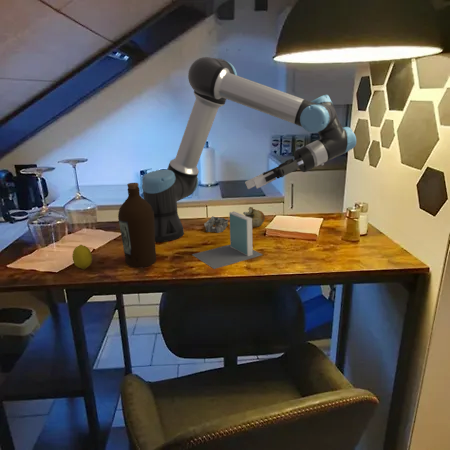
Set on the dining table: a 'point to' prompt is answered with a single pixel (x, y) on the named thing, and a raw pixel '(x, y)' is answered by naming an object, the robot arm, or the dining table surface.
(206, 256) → the mat
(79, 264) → the lemon
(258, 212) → the onion
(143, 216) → the olive oil
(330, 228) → the dining table surface
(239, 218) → the tile
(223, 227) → the egg carton
